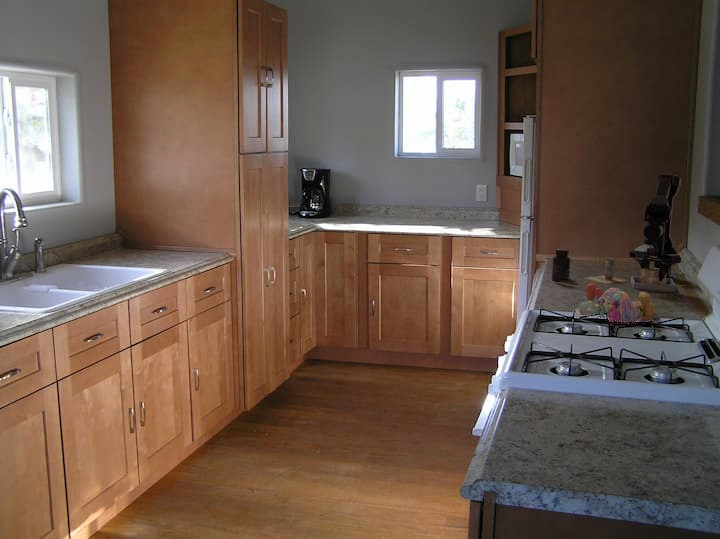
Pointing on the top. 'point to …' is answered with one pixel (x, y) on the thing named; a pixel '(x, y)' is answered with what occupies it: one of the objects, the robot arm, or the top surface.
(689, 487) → the top surface
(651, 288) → the slate tray
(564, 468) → the top surface
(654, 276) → the hollow wooden box
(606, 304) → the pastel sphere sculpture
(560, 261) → the supplement bottle
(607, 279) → the stake block
